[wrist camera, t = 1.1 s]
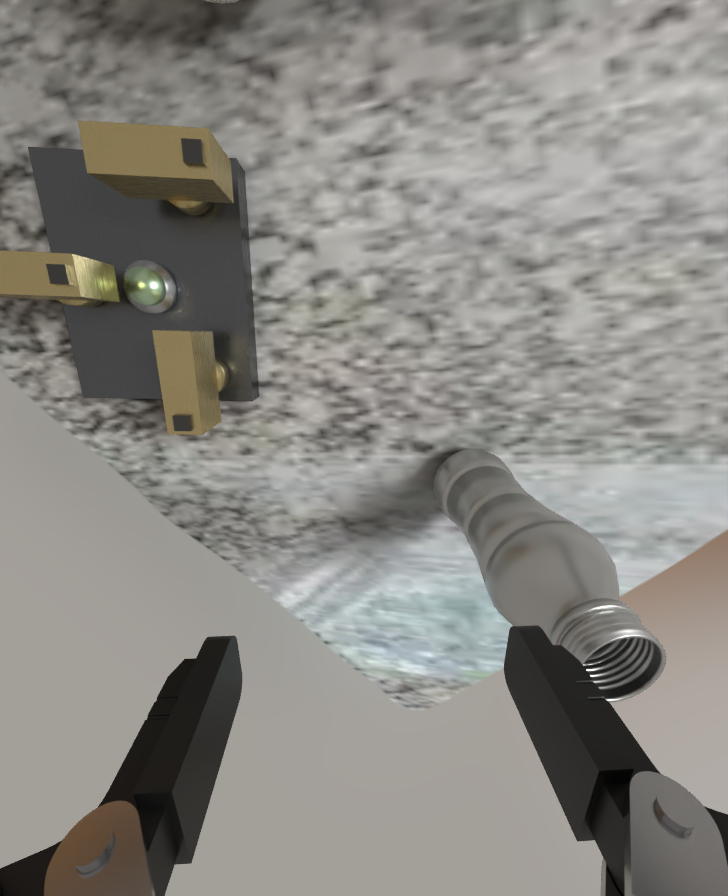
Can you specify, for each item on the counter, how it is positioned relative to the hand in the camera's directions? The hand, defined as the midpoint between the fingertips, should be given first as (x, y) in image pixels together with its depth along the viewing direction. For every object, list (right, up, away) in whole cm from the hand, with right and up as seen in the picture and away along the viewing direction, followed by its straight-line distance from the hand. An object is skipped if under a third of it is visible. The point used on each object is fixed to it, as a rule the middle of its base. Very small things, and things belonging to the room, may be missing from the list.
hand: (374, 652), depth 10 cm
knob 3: (-12, +12, +17) cm, 24 cm away
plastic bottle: (+9, +4, +23) cm, 25 cm away
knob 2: (-12, +23, +13) cm, 29 cm away
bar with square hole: (-20, +18, +15) cm, 30 cm away
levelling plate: (-16, +18, +17) cm, 29 cm away
